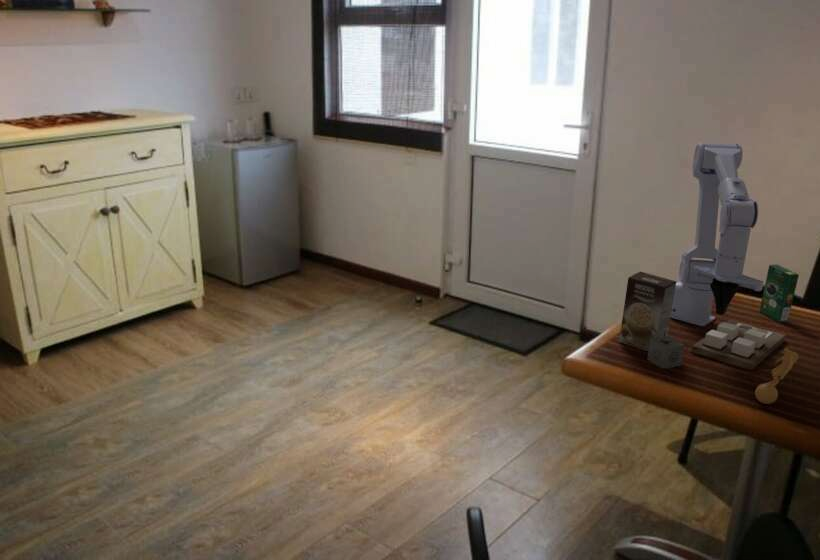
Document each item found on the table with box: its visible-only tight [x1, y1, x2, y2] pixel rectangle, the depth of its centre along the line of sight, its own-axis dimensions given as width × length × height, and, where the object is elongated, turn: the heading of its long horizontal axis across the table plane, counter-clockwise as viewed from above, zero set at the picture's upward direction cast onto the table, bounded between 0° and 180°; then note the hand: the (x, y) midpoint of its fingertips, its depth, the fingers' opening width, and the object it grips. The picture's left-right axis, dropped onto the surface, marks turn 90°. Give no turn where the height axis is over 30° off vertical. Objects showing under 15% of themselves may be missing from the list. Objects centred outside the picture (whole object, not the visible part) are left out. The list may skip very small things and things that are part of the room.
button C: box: [704, 329, 728, 350], centre depth 164 cm, size 4×4×3 cm
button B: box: [743, 329, 766, 349], centre depth 165 cm, size 4×4×3 cm
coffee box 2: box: [759, 264, 799, 323], centre depth 185 cm, size 8×3×13 cm, turn 13°
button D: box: [731, 337, 756, 358], centre depth 160 cm, size 4×4×3 cm
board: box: [691, 319, 787, 371], centre depth 168 cm, size 13×23×2 cm, turn 137°
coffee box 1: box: [618, 271, 677, 353], centre depth 165 cm, size 9×6×16 cm
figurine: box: [754, 347, 799, 405], centre depth 140 cm, size 8×6×12 cm
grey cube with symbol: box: [646, 335, 685, 370], centre depth 158 cm, size 5×5×5 cm
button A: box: [716, 321, 739, 342], centre depth 169 cm, size 4×4×3 cm
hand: (720, 313), depth 162 cm, fingers closed
